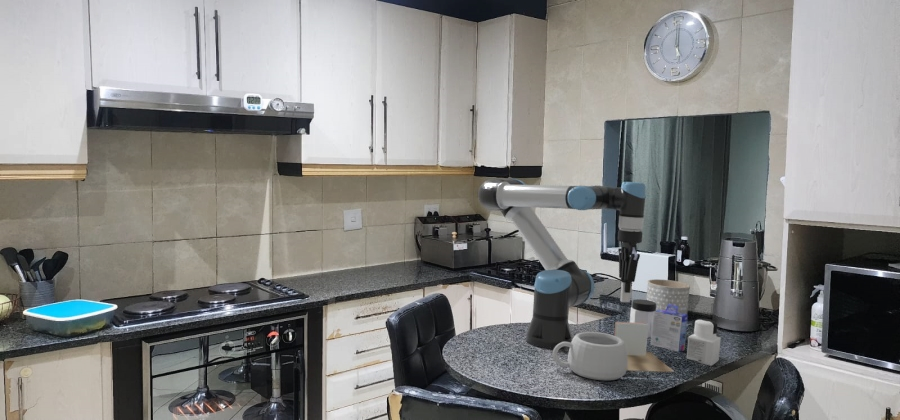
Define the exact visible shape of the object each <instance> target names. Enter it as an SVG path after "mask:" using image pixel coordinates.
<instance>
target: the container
mask: <svg viewBox="0 0 900 420" xmlns="http://www.w3.org/2000/svg"><path fill="white" fill-rule="evenodd" d="M717 331H718V322H716V321H714V320H712V319H709V318H698V319H695V320H694V328H693V333H692V334H691V335H689V336H688V339H687V349H686V359H688V360H691V361H695V362H697V363H699V364H701V365H706V366H710V367H712V366H713V365H715V364H716V363H718V362H719V359H720V350H721V339H722V338H721V337H720V336H717V333H718V332H717Z"/></svg>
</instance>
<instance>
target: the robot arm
mask: <svg viewBox="0 0 900 420" xmlns="http://www.w3.org/2000/svg"><path fill="white" fill-rule="evenodd" d="M646 190H647V189H646V184H645V183H643V182H638V181H637V182H635V181H623V182H622V183H621V187H619V186H618V187H617V186H608V185H607V186H605V185H590V186H589V185H556V184H555V185H549V184H548V185H546V184H543V185H542V184H526V183H525V182H523V181H522V180H520V179H516V178H489V179H486V180H485V181H484V182H482V184H481V185H480V186H479V188H478V192H477V197H478V201H479V203H480V204H481V206H483V208H485V209H486V210H489V211H499V212H500V213H501V214H502V216H503V217H504V218H505V220H506V221H512V223H513V225H514V226H515V227H516V229H517V230H518V231H519V234H520V235H521V236H522V238H523V239H524V240H525V242H526V243H527V245H528V247H529V248H530V250H531V251H532V252H533V254H534V256H535V257H536V258H537V259H538V261H539V262H540V264H541V265H542V267H543V268H544V270H542V271H540V272H538V273H537V274H536V276H535V282H534V285H533V287H534V291H533V292H534V293H533V304H532V305H533V306H532V307H533V309H532V318H531V320H530V323H529V325H528V328H527V331H526V333H525V341H526V342H527V343H529V344H530V345H532V346H535V347H540V348H544V349H545V348H546V349H552V350H553V349H554V348H555V346H556V345H557V344H559V343H561V342H570V343H571V342H572V339H573V336H572V332H571V327H570V325H569V324H570V323H569V315H570V314H569V313H570V312H569V311H570V308H571V307H574V306H580V305H583V304H584V303H586V302H587V301H590V299H591V298H592V296H594V292H595V281H594V278H593V276H592V275H591V274H590V273H589V272H587V271H586V270H583V269H580V267H579V265H578V264H577V263H576V262H575V260H572V259H568V257H567V256H566V255H565V254H564V252H563V251H562V249H561V248H560V247H559V245H558V243H557V242H556V241H555V239H554V238H553V237H552V235H551V234H550V232H549V231H548V230H547V228H546V226H545V225H544V224H543V222H542V221H541V220H540V218H539V217H538V215H537V214H536V213H535V211H534V209H533V208H541V209H542V208H543V209H561V210H563V209H566V210H576V211H588V210H611V211H613V210H615V211H619V215H618V229H619V230H617V231H618V232H617V241H618V242H621V243H622V244H621V247H620V248H618V249H617V252H618V277H619V278H620V280H621V281H620V282H621V285H620V299H619V301H620V303H631V295H632V294H631V292H632V284H633V283H634V282H635V281H636V276H637V275H636V274H637V270H638V264H639V259H641V258H640V257H641V256H640V255H641V254H640V253H638V249H637V248H638V247H637V244H641V243H643V231H641V230H643V229H644V223H645V220H644V217H645V215H644V214H645V206H646V205H645V204H646V198H647V197H646V192H647V191H646ZM564 348H567V346H563V347H561V348H560V349H564Z"/></svg>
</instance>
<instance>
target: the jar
mask: <svg viewBox="0 0 900 420" xmlns="http://www.w3.org/2000/svg"><path fill="white" fill-rule="evenodd" d="M631 305H632V306H631V307H630V315H629V322H632V323H647V324H648V336H647V338H650V339H651V336H652V326H653V316H654V311H656V303H655V302H653V301H649V300H646V299H632V304H631Z"/></svg>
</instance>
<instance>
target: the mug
mask: <svg viewBox="0 0 900 420" xmlns="http://www.w3.org/2000/svg"><path fill="white" fill-rule="evenodd" d="M563 346H567V347H568V348H569V350H568V353H567V354H568V355H567V361H563V360H561V359H560V358H559V356H558V352H559V350H560V349H562V348H561V347H563ZM567 347H566V348H567ZM563 348H564V347H563ZM552 359H553V361H554V362H555V363H556V364H557V365H559V366H561V367H564V368H569V369H571V371H572V372H573V373H574V374H576V375H578V376H580V377H583V378H587V379H589V380H595V381H597V380H598V381H615V380H619V379H621V378H622V377H623V376H625V375H626V373H627V371H628V370H627V367H628V358H627V349H626V345H625V343H624V341H623V340H622V339H620V338H619V337H616V336H614V335H613V334H609V333H605V332H599V331H598V332H597V331H583V332H579V333H575V335H574V337H572V342H571V343H570V342H561V343H559V344H557V345H556V346H555V348H554V349H553V348H552Z"/></svg>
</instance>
